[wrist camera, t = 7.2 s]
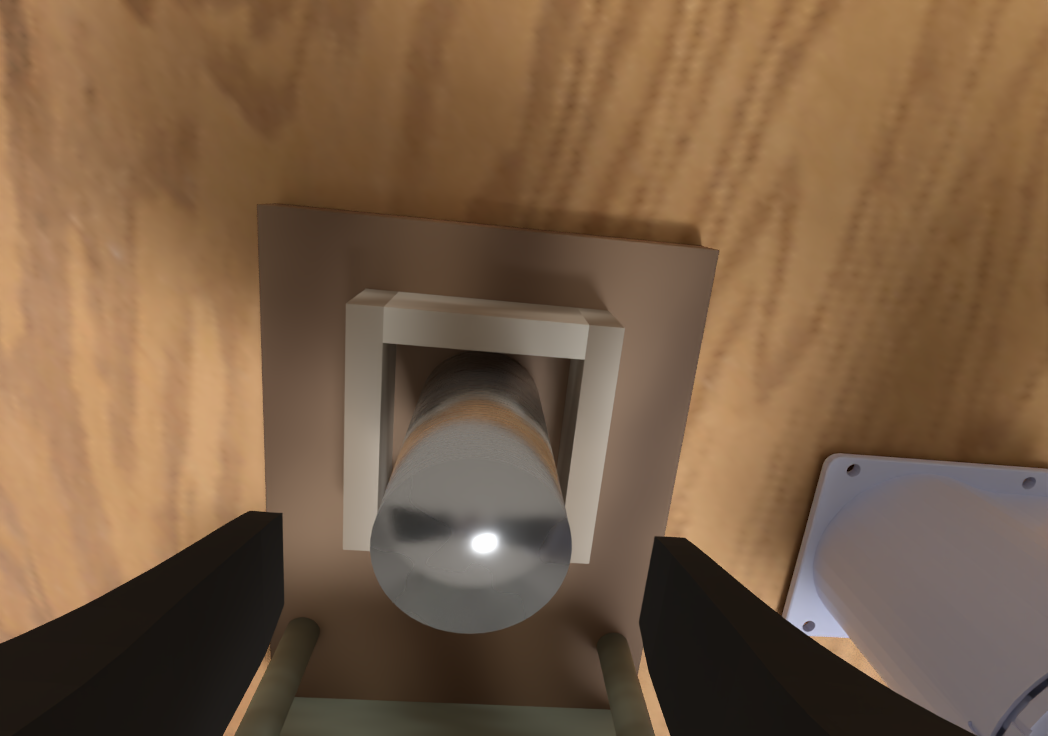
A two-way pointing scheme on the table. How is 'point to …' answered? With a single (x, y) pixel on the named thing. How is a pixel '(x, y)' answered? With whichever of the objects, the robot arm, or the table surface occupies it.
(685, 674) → the robot arm
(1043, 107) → the table surface
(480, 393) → the steel peg
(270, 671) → the socket stand
